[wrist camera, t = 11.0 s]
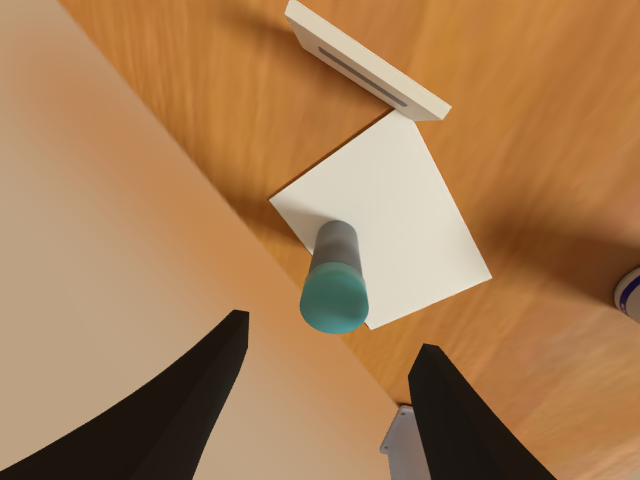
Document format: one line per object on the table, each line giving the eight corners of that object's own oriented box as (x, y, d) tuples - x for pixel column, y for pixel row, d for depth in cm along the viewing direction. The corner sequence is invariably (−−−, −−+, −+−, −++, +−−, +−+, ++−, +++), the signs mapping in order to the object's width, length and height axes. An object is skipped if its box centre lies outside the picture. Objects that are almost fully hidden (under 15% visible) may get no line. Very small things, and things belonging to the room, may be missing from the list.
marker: (353, 261, 20) (360, 339, 13) (312, 254, 20) (296, 327, 13) (363, 223, 19) (376, 286, 11) (318, 215, 19) (304, 273, 12)
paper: (491, 276, 20) (492, 277, 20) (370, 328, 23) (371, 330, 23) (403, 102, 15) (404, 102, 15) (269, 199, 19) (268, 199, 19)
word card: (413, 121, 16) (442, 120, 11) (302, 48, 15) (283, 14, 10) (420, 111, 15) (452, 106, 11) (307, 36, 14) (291, -4, 10)
